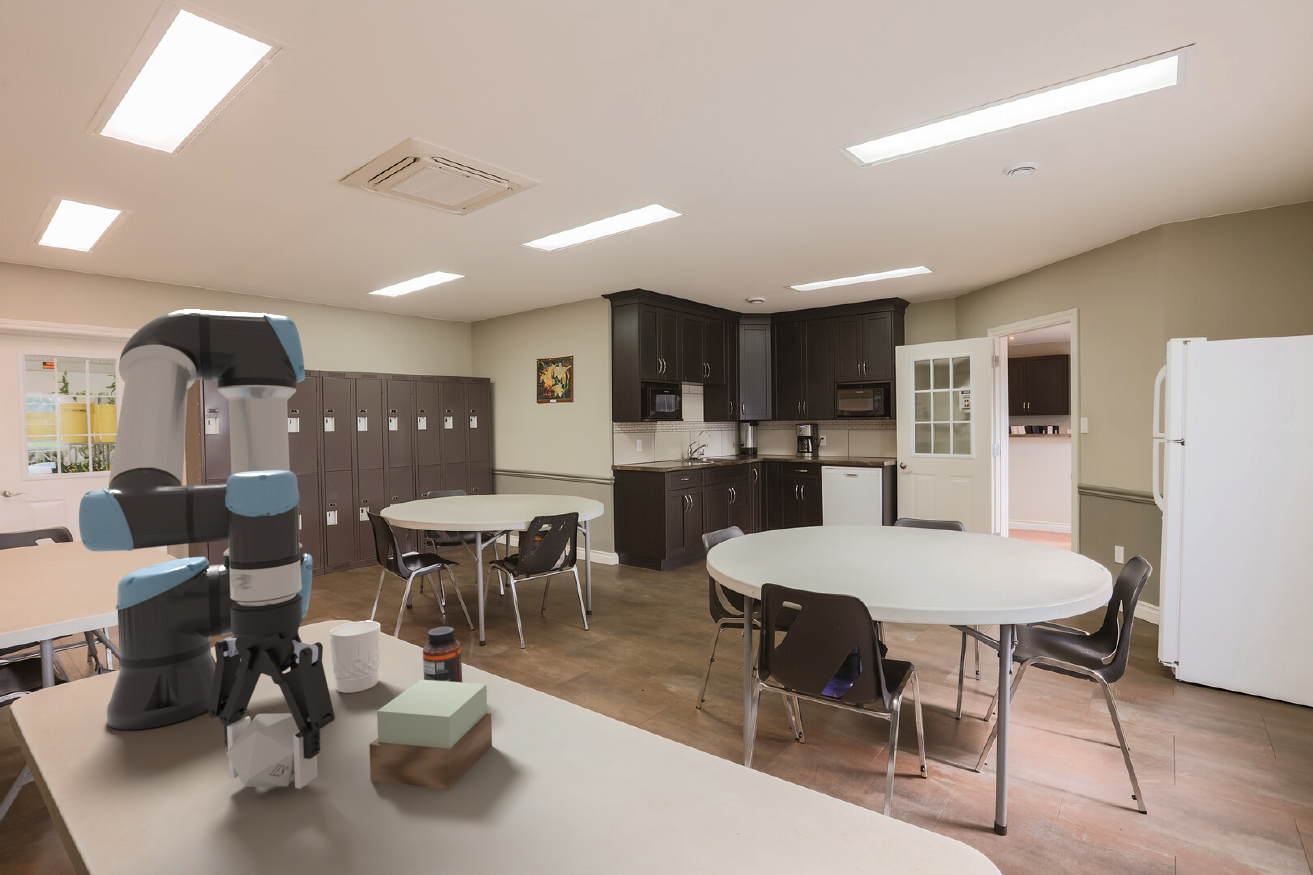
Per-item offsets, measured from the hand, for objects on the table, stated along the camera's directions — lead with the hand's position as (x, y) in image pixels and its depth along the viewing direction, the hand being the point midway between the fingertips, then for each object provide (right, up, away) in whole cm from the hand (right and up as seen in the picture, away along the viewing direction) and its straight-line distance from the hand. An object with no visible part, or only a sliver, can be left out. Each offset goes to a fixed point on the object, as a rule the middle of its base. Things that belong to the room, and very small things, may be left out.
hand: (273, 776), depth 80 cm
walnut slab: (+18, -1, +6) cm, 19 cm away
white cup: (-4, -1, +32) cm, 32 cm away
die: (0, -1, 0) cm, 1 cm away
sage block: (+18, +4, +6) cm, 19 cm away
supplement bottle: (+13, -1, +25) cm, 28 cm away
